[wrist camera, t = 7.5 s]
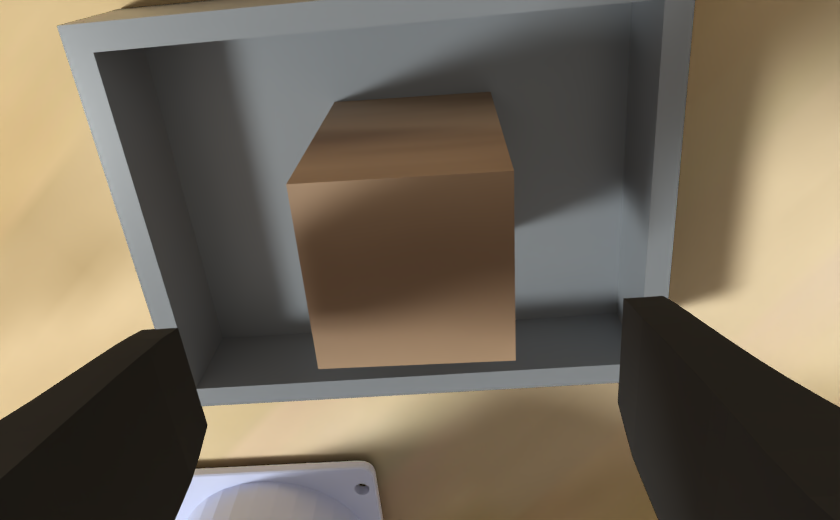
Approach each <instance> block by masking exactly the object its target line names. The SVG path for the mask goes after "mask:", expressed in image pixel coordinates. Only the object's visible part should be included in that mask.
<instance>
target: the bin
mask: <svg viewBox="0 0 840 520" xmlns="http://www.w3.org/2000/svg"><path fill="white" fill-rule="evenodd" d="M694 7H695V0H207V1H196V2H186V3H176V4H166V5H155V6H145V7H135V8H125V9H117V10H113V11H110V12H106V13H102V14H99V15H95V16H91V17H87V18H84V19H80V20H76V21H73V22H69V23H65V24H62V25H58V26H57V28H58V31H59V34H60V37H61V40H62V43H63V46H64V49H65V53H66V56H67V59H68V62H69V65H70V68H71V71H72V74H73V77H74V80H75V83H76V87H77V90H78V93H79V96H80V99H81V102H82V105H83V108H84V111H85V114H86V117H87V121H88V124H89V127H90V130H91V133H92V136H93V139H94V142H95V145H96V148H97V151H98V155H99V158H100V161H101V164H102V167H103V170H104V173H105V176H106V179H107V182H108V185H109V189H110V192H111V195H112V198H113V201H114V204H115V207H116V210H117V213H118V216H119V219H120V223H121V226H122V229H123V232H124V235H125V238H126V241H127V244H128V247H129V250H130V253H131V257H132V260H133V263H134V266H135V269H136V272H137V275H138V278H139V281H140V284H141V287H142V291H143V294H144V297H145V300H146V303H147V306H148V309H149V312H150V315H151V318H152V321H153V325H154V328H155V329H166V328H178V329H179V333H180V336H181V339H182V343H183V346H184V349H185V353H186V356H187V359H188V363H189V366H190V369H191V373H192V376H193V379H194V382H195V386H196V389H197V392H198V396H199V399H200V402H201V406H215V405H232V404H250V403H268V402H285V401H303V400H321V399H339V398H356V397H374V396H392V395H409V394H427V393H445V392H463V391H480V390H498V389H516V388H533V387H551V386H569V385H587V384H604V383H619V373H620V354H621V335H622V316H623V298H637V297H653V296H664V297H666V298H668V296H669V285H670V274H671V263H672V252H673V240H674V229H675V218H676V207H677V196H678V185H679V174H680V162H681V151H682V140H683V129H684V118H685V107H686V96H687V85H688V73H689V62H690V51H691V40H692V29H693V18H694ZM478 92H491V95H492V98H493V102H494V105H495V109H496V112H497V115H498V119H499V122H500V125H501V129H502V132H503V135H504V139H505V142H506V145H507V149H508V152H509V156H510V159H511V162H512V166H513V169H514V225H515V341H516V361H493V362H470V363H446V364H423V365H400V366H377V367H354V368H331V369H318V364H317V359H316V353H315V347H314V341H313V336H312V330H311V324H310V318H309V313H308V307H307V301H306V295H305V290H304V284H303V278H302V272H301V267H300V261H299V255H298V250H297V244H296V238H295V232H294V227H293V221H292V215H291V209H290V204H289V198H288V192H287V186H286V184H287V182H288V180H289V179H290V177H291V175H292V174H293V172H294V170H295V168H296V167H297V165H298V163H299V162H300V160H301V158H302V157H303V155H304V153H305V151H306V150H307V148H308V146H309V145H310V143H311V141H312V139H313V138H314V136H315V134H316V133H317V131H318V129H319V128H320V126H321V124H322V122H323V121H324V119H325V117H326V116H327V114H328V112H329V110H330V109H331V107H332V105H333V104H334V102H342V101H358V100H373V99H388V98H403V97H418V96H433V95H448V94H463V93H478Z"/></svg>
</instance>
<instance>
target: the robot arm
mask: <svg viewBox="0 0 840 520" xmlns="http://www.w3.org/2000/svg"><path fill="white" fill-rule="evenodd" d="M618 405H619V408H620V412H621V416H622V420H623V424H624V428H625V432H626V435H627V439H628V442H629V446H630V450H631V453H632V457H633V460H634V462H635V465H636V467H637V470H638V472H639V474H640V477H641V479H642V482H643V484H644V487H645V489H646V491H647V494H648V496H649V499H650V501H651V504H652V506H653V508H654V511H655V513H656V516H657V518H658V520H840V407H838V406H836V405H834V404H833V403H831V402H829V401H827V400H825V399H824V398H822V397H820V396H819V395H817V394H815V393H813V392H812V391H810V390H808V389H806V388H805V387H803V386H801V385H800V384H798V383H796V382H794V381H793V380H791V379H789V378H787V377H786V376H784V375H783V374H781V373H779V372H778V371H776V370H775V369H773V368H771V367H770V366H768V365H766V364H765V363H763V362H762V361H760V360H759V359H757V358H756V357H754V356H752V355H751V354H749V353H748V352H746V351H745V350H743V349H742V348H740V347H739V346H737V345H736V344H734V343H733V342H731V341H730V340H728V339H727V338H725V337H724V336H722V335H721V334H719V333H718V332H717V331H715V330H714V329H712V328H711V327H709V326H708V325H706V324H705V323H703V322H702V321H701V320H699V319H698V318H696V317H695V316H693V315H692V314H690V313H689V312H688V311H686V310H685V309H683V308H682V307H680V306H679V305H677V304H676V303H674V302H673V301H671V300H669V299H668V298H666V297H664V296H653V297H637V298H623V316H622V335H621V354H620V373H619V392H618ZM206 429H207V422H206V419H205V416H204V412H203V409H202V406H201V402H200V399H199V396H198V392H197V389H196V386H195V382H194V379H193V376H192V373H191V369H190V366H189V363H188V359H187V356H186V353H185V349H184V346H183V343H182V339H181V336H180V333H179V329H178V328H166V329H151V330H141V331H140V332H138V333H136V334H134V335H132V336H130V337H128V338H127V339H125V340H123V341H121V342H120V343H118V344H117V345H115V346H113V347H112V348H110V349H109V350H107V351H106V352H104V353H102V354H101V355H99V356H98V357H96V358H95V359H93V360H92V361H90V362H89V363H87V364H86V365H84V366H83V367H81V368H80V369H78V370H77V371H75V372H74V373H72V374H71V375H69V376H68V377H66V378H65V379H63V380H62V381H60V382H59V383H57V384H56V385H54V386H53V387H51V388H50V389H48V390H47V391H45V392H44V393H42V394H41V395H39V396H38V397H36V398H35V399H33V400H32V401H30V402H28V403H27V404H25V405H24V406H22V407H20V408H19V409H17V410H16V411H14V412H12V413H11V414H9V415H8V416H6V417H4V418H3V419H1V420H0V520H383V515H382V509H381V502H380V496H379V490H378V484H377V478H376V472H375V469H374V467H373V466H372V465H371V464H370V463H368V462H366V461H340V462H320V463H300V464H280V465H260V466H240V467H220V468H200V469H196V465H197V462H198V459H199V456H200V452H201V448H202V444H203V440H204V437H205V433H206ZM358 484H365V485H367V486H360V485H358Z"/></svg>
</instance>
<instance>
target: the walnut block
mask: <svg viewBox="0 0 840 520" xmlns="http://www.w3.org/2000/svg"><path fill="white" fill-rule="evenodd" d="M286 186H287V192H288V198H289V204H290V209H291V215H292V221H293V227H294V232H295V238H296V244H297V250H298V255H299V261H300V267H301V272H302V278H303V284H304V290H305V295H306V301H307V307H308V313H309V318H310V324H311V330H312V336H313V341H314V347H315V353H316V359H317V364H318V369H331V368H354V367H377V366H400V365H423V364H446V363H470V362H493V361H516V341H515V225H514V169H513V166H512V162H511V159H510V156H509V152H508V149H507V145H506V142H505V139H504V135H503V132H502V129H501V125H500V122H499V119H498V115H497V112H496V109H495V105H494V102H493V98H492V95H491V92H478V93H463V94H448V95H433V96H418V97H403V98H388V99H373V100H358V101H342V102H334V104H333V105H332V107H331V109H330V110H329V112H328V114H327V116H326V117H325V119H324V121H323V122H322V124H321V126H320V128H319V129H318V131H317V133H316V134H315V136H314V138H313V139H312V141H311V143H310V145H309V146H308V148H307V150H306V151H305V153H304V155H303V157H302V158H301V160H300V162H299V163H298V165H297V167H296V168H295V170H294V172H293V174H292V175H291V177H290V179H289V180H288V182H287V184H286Z"/></svg>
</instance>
